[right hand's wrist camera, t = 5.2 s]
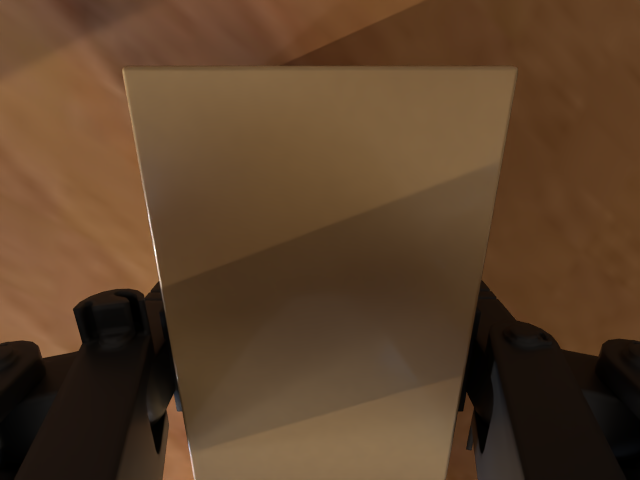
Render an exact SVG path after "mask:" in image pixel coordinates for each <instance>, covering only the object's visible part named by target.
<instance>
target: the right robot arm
mask: <svg viewBox="0 0 640 480" xmlns="http://www.w3.org/2000/svg"><path fill="white" fill-rule="evenodd" d="M73 311H74V315H75V318H76V322H77V325H78V329H79V332H80V336H81V340H82V345H81V347H80V349H79V351H76V352H72V353H67V354H62V355H57V356H52V357H46V358H42V356H41V353H40V350H39V347H38V345H36V344H35V343H33V342H30V341H14V342H5V343H1V344H0V480H162V478H163V470H164V462H165V453H166V445H167V437H168V429H169V422H168V416H167V410H166V408H167V406H168V404H169V402H170V400H171V398H172V396H173V394H174V397H175V402H176V408H177V411H182V407H181V401H180V395H179V390H178V384H177V378H176V373H175V367H174V361H173V356H172V350H171V344H170V339H169V333H168V327H167V322H166V316H165V310H164V305H163V299H162V293H161V288H160V282H158V283H157V284H156V285H155V286H154V288H153V289H152V290H151V293H148V295H147V296H146V297H145V298H144V294H142V293H141V292H139V291H138V290H133V289H115V290H110V291H104V292H101V293H98V294H95V295H93V296H90V297H88V298H86V299H85V300H83V301H81V302H79V303H78V304H77V305H76V306H75V307H74V308H73ZM466 392H467V393H468V395H469V398H470V400H471V402H472V404H473V406H474V410H473V416H472V421H471V426H470V431H469V436H468V441H467V447H466V449H467V450H472V445H473V444H474V453H475V461H476V469H477V477H478V480H640V341H635V340H625V339H613V340H608V341H606V342H605V343H604V344H603V345H602V348H601V351H600V354H599V357H597V356H592V355H587V354H582V353H577V352H571V351H567V350H563V349H560V347H559V345H558V343H557V342H556V340H555V339H554V338H553V337H552V336H551V335H550V334H549V333H547V332H546V331H544V330H543V329H541V328H538V327H536V326H534V325H531V324H529V323H524V322H520V321H516V320H515V318H514V317H513V316H512V315H511V314H510V313H509V311H508V310H507V309H506V308H505V307H504V306H503V304H502V303H501V302H500V301H499V300H498V299H496V296H495V295H494V294H493V293H492V292H491V291H490V289H489V288H488V287H487V286H486V284H485V283H484V282H483V281H482V280H481V284H480V289H479V295H478V301H477V306H476V312H475V317H474V323H473V329H472V334H471V340H470V346H469V351H468V357H467V363H466V368H465V374H464V380H463V385H462V391H461V397H460V402H459V408H458V411H463V409H464V403H465V398H466Z"/></svg>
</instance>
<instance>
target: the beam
mask: <svg viewBox="0 0 640 480" xmlns="http://www.w3.org/2000/svg"><path fill="white" fill-rule="evenodd" d="M122 73H123V78H124V84H125V90H126V95H127V101H128V107H129V112H130V118H131V124H132V129H133V135H134V141H135V146H136V152H137V158H138V163H139V169H140V175H141V180H142V186H143V192H144V197H145V203H146V209H147V214H148V220H149V226H150V231H151V237H152V243H153V248H154V254H155V260H156V265H157V271H158V277H159V282H160V288H161V293H162V299H163V305H164V310H165V316H166V322H167V327H168V333H169V339H170V344H171V350H172V356H173V361H174V367H175V373H176V378H177V384H178V390H179V395H180V401H181V407H182V412H183V418H184V424H185V429H186V435H187V441H188V446H189V452H190V458H191V463H192V469H193V475H194V480H446V476H447V470H448V464H449V459H450V453H451V447H452V442H453V436H454V430H455V425H456V419H457V414H458V408H459V402H460V397H461V391H462V385H463V380H464V374H465V368H466V363H467V357H468V351H469V346H470V340H471V334H472V329H473V323H474V317H475V312H476V306H477V301H478V295H479V289H480V284H481V278H482V272H483V267H484V261H485V255H486V250H487V244H488V238H489V233H490V227H491V221H492V216H493V210H494V204H495V199H496V193H497V188H498V182H499V176H500V171H501V165H502V159H503V154H504V148H505V142H506V137H507V131H508V125H509V120H510V114H511V108H512V103H513V97H514V91H515V86H516V80H517V74H518V68H517V67H515V66H126V67H124V68H123V70H122Z"/></svg>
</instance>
